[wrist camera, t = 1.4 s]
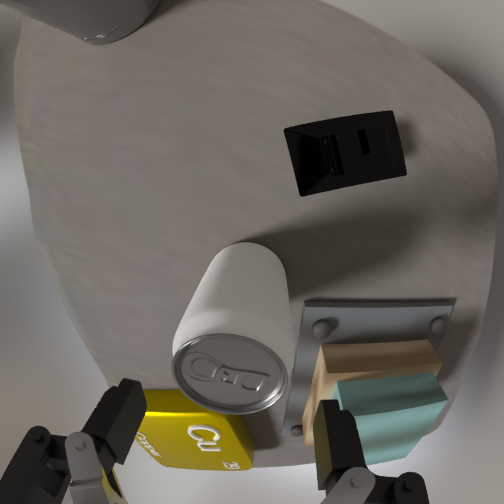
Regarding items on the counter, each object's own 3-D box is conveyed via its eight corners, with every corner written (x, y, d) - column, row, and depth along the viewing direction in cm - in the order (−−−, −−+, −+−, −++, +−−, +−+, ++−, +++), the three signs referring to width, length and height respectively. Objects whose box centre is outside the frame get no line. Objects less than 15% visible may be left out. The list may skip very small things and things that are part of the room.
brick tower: (303, 301, 24) (318, 372, 15) (448, 301, 23) (495, 350, 15) (281, 430, 30) (281, 487, 22) (392, 421, 30) (408, 470, 21)
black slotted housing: (402, 101, 18) (429, 92, 14) (419, 183, 20) (448, 191, 16) (259, 124, 20) (257, 115, 16) (283, 212, 22) (286, 226, 18)
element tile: (120, 386, 30) (107, 412, 26) (227, 384, 28) (221, 416, 24) (167, 446, 35) (160, 469, 31) (257, 447, 33) (256, 473, 29)
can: (220, 230, 22) (172, 306, 11) (296, 254, 22) (320, 349, 11) (201, 297, 24) (157, 398, 13) (271, 318, 25) (269, 428, 13)
